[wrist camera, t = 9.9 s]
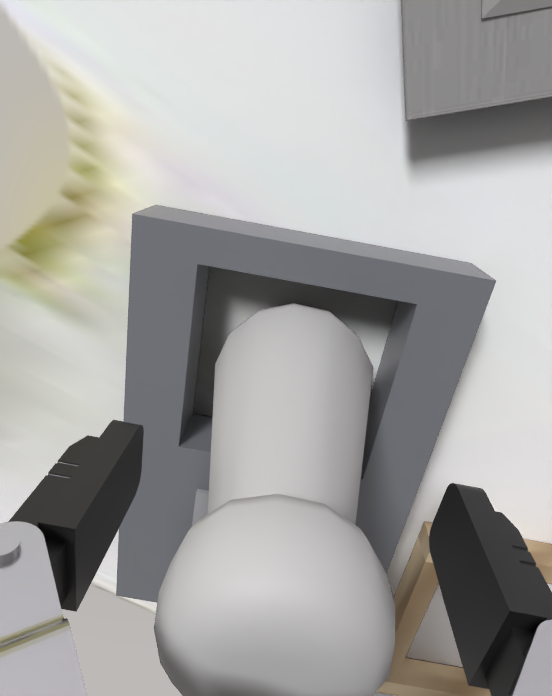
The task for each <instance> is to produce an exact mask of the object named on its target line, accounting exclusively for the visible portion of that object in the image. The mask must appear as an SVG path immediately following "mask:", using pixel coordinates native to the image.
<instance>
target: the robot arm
mask: <svg viewBox="0 0 552 696" xmlns="http://www.w3.org/2000/svg"><path fill="white" fill-rule="evenodd" d="M143 436H144V429H143V426H142V425H139V424H133V423H128V422H122V421H117V420H113V421H112V422H111V423H110V424H109V425H108V427H107V428H106V429H105V431H104V432H103V434H102V435H101V436H100V438H98V437H93V436H86V437H85V438H83V439H81V440H79V441H78V442H76V443H74V444H73V445H71V446H70V447H69V448H68V449H67V450H66V452H65V453H64V454H63V455H62V456H61V458H60V459H59V460H58V463H57V464H55V465H54V466H53V468H52V469H51V470H50V471H49V473H48V476H45V477H44V479H43V480H42V481H41V482H40V484H39V485H38V486H37V487H36V489H35V490H34V491H33V492H32V493H31V495H30V496H29V497H28V498H27V500H26V501H25V502H24V503H23V505H22V506H21V507H20V508H19V509H18V511H17V512H16V513H15V514H14V516H13V517H12V518H11V519H10V521H9V522H5V523H0V696H87V692H86V688H85V684H84V680H83V676H82V672H81V668H80V663H79V659H78V655H77V651H76V647H75V643H74V640H73V635H72V631H71V627H70V624H69V622H68V619H64V618H63V614H62V610H61V609H66V610H71V611H77V609H78V607H79V605H80V603H81V602H82V600H83V598H84V596H85V594H86V592H87V590H88V588H89V586H90V584H91V582H92V580H93V578H94V576H95V574H96V572H97V570H98V568H99V566H100V564H101V562H102V560H103V558H104V556H105V554H106V552H107V550H108V548H109V546H110V545H111V543H112V541H113V539H114V537H115V535H116V533H117V531H118V529H119V527H120V525H121V523H122V521H123V519H124V517H125V515H126V513H127V511H128V509H129V507H130V505H131V503H132V501H133V499H134V497H135V495H136V493H137V490H138V486H139V483H140V478H141V470H142V453H143ZM429 549H430V554H431V557H432V561H433V564H434V568H435V571H436V575H437V578H438V582H439V585H440V589H441V592H442V596H443V599H444V603H445V606H446V610H447V613H448V617H449V620H450V623H451V627H452V630H453V634H454V637H455V641H456V644H457V648H458V651H459V655H460V658H461V662H462V665H463V669H464V672H465V676H466V679H467V683H468V685H469V686H474V687H479V688H485V689H489V690H490V693H491V696H552V592H551V590H550V588H549V586H548V585H547V583H546V581H545V579H544V577H543V575H542V573H541V571H540V570H539V568H538V567H536V562H535V560H534V558H533V556H532V555H531V553H530V552H528V547H527V545H526V543H525V542H524V540H523V538H522V536H521V534H520V532H519V530H518V529H517V528H516V527H515V526H514V525H513V524H512V523H511V522H510V521H509V520H508V519H507V518H506V517H505V516H504V515H503V513H500V512H495V511H494V509H493V507H492V505H491V503H490V501H489V499H488V497H487V495H486V493H485V491H484V490H483V489H481V488H476V487H471V486H465V485H460V484H454V483H451V484H450V485H449V486H448V487H447V489H446V492H445V494H444V497H443V499H442V501H441V504H440V506H439V509H438V511H437V514H436V516H435V519H434V521H433V524H432V526H431V529H430V535H429Z"/></svg>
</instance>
